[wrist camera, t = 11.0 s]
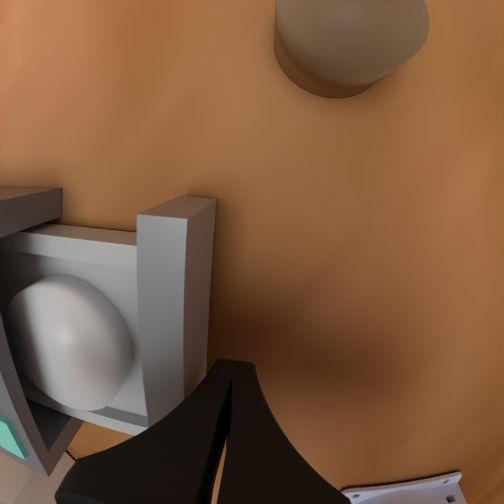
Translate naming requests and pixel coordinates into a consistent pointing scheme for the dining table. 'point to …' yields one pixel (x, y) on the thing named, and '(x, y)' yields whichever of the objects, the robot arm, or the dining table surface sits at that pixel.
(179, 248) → the grey drawer
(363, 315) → the dining table surface
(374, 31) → the brown cylinder
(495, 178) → the dining table surface
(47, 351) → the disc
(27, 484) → the milk carton
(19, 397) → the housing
